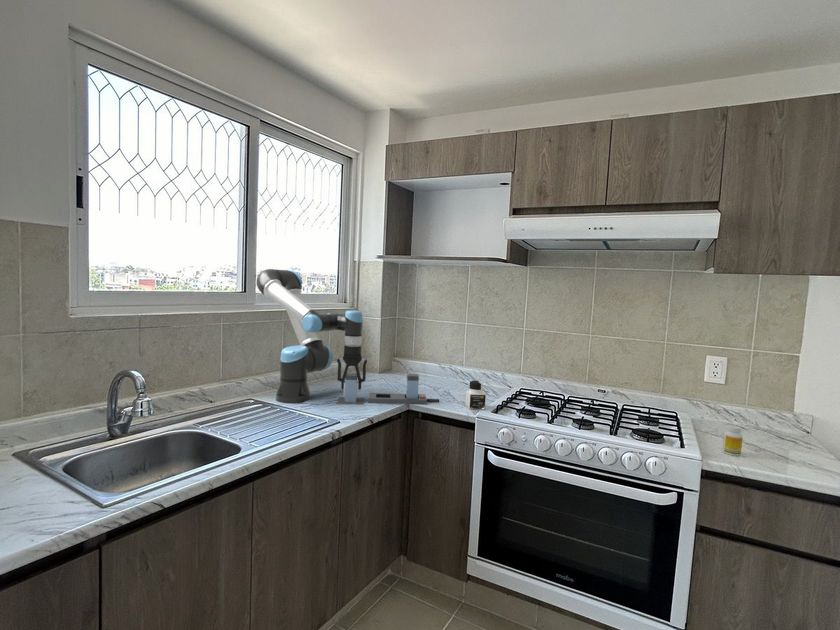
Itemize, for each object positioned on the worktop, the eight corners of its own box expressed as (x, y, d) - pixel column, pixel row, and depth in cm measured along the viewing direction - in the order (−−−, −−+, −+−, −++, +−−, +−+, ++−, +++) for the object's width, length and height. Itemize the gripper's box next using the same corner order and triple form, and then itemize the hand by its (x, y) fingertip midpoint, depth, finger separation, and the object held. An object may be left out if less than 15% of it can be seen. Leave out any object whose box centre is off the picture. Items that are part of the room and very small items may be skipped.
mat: (335, 404, 195) (335, 403, 195) (338, 397, 207) (338, 396, 207) (363, 405, 196) (363, 404, 196) (364, 398, 208) (364, 397, 208)
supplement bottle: (719, 449, 161) (721, 423, 160) (735, 451, 160) (738, 425, 159) (727, 455, 156) (729, 428, 155) (744, 457, 155) (746, 429, 154)
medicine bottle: (469, 409, 198) (471, 383, 197) (465, 405, 205) (466, 379, 204) (485, 409, 199) (486, 383, 198) (480, 405, 206) (481, 379, 205)
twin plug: (406, 402, 201) (407, 376, 200) (405, 399, 206) (407, 373, 205) (417, 402, 201) (418, 376, 200) (416, 399, 206) (418, 374, 205)
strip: (368, 405, 197) (368, 397, 197) (369, 399, 207) (369, 391, 207) (440, 407, 200) (440, 399, 199) (437, 401, 209) (438, 393, 209)
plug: (344, 401, 199) (345, 375, 198) (345, 399, 204) (346, 373, 203) (355, 402, 199) (356, 375, 198) (356, 399, 204) (357, 373, 203)
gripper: (331, 345, 196) (329, 398, 197) (372, 347, 197) (370, 399, 198) (333, 343, 203) (331, 393, 205) (373, 344, 204) (371, 395, 206)
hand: (350, 396), depth 201 cm, fingers closed on plug, 5 cm apart
